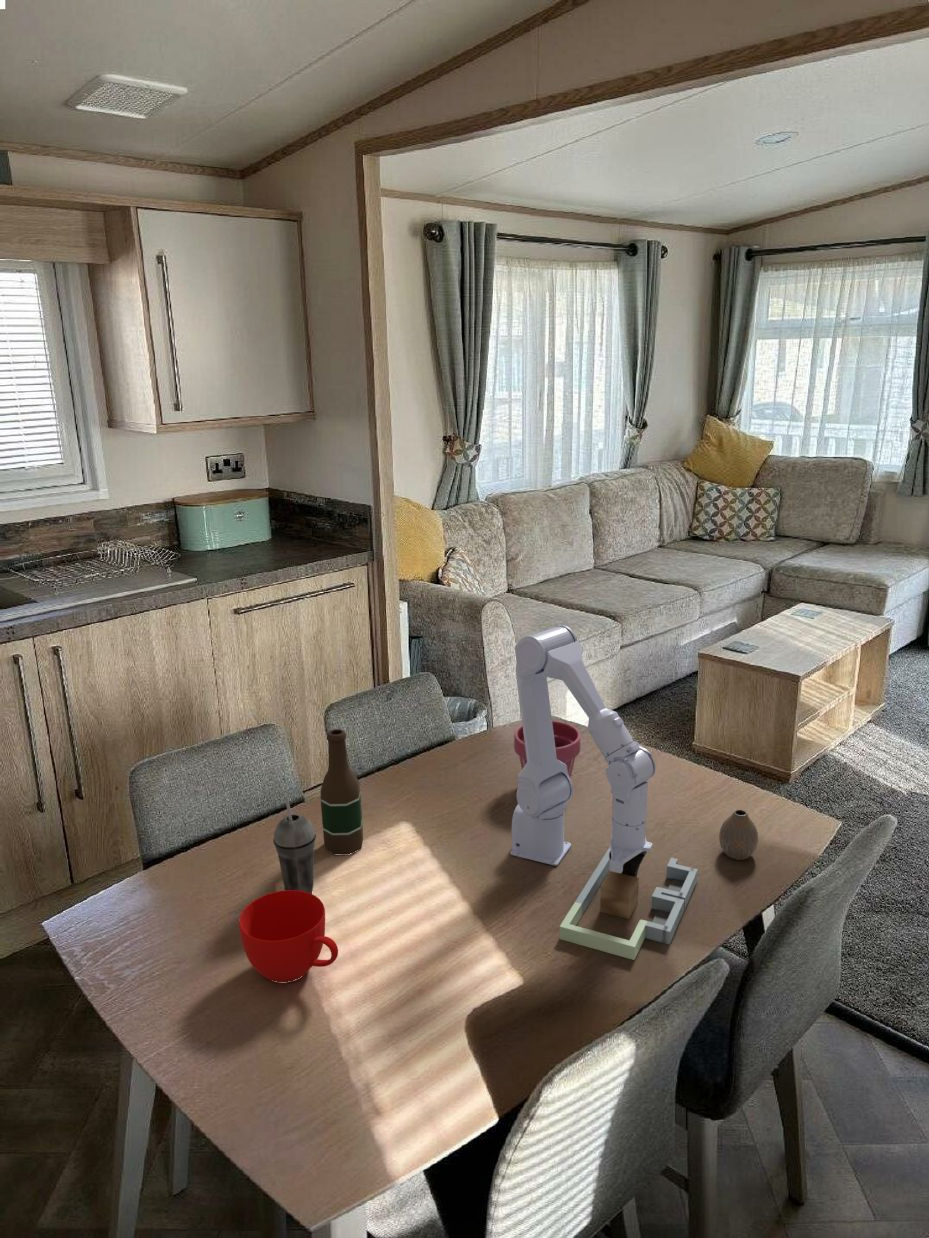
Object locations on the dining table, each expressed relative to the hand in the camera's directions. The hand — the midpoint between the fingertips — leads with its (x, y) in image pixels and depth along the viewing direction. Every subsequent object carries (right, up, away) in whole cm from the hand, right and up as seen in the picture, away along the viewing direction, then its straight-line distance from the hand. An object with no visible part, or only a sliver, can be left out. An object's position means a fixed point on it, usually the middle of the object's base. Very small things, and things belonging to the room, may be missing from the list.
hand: (626, 887), depth 157 cm
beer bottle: (-51, +3, +18) cm, 55 cm away
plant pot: (-10, +10, +39) cm, 41 cm away
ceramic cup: (-54, -8, -17) cm, 57 cm away
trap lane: (+1, -2, -3) cm, 4 cm away
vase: (+23, +3, +12) cm, 26 cm away
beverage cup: (-57, -2, +3) cm, 57 cm away
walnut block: (-2, -2, -3) cm, 4 cm away
